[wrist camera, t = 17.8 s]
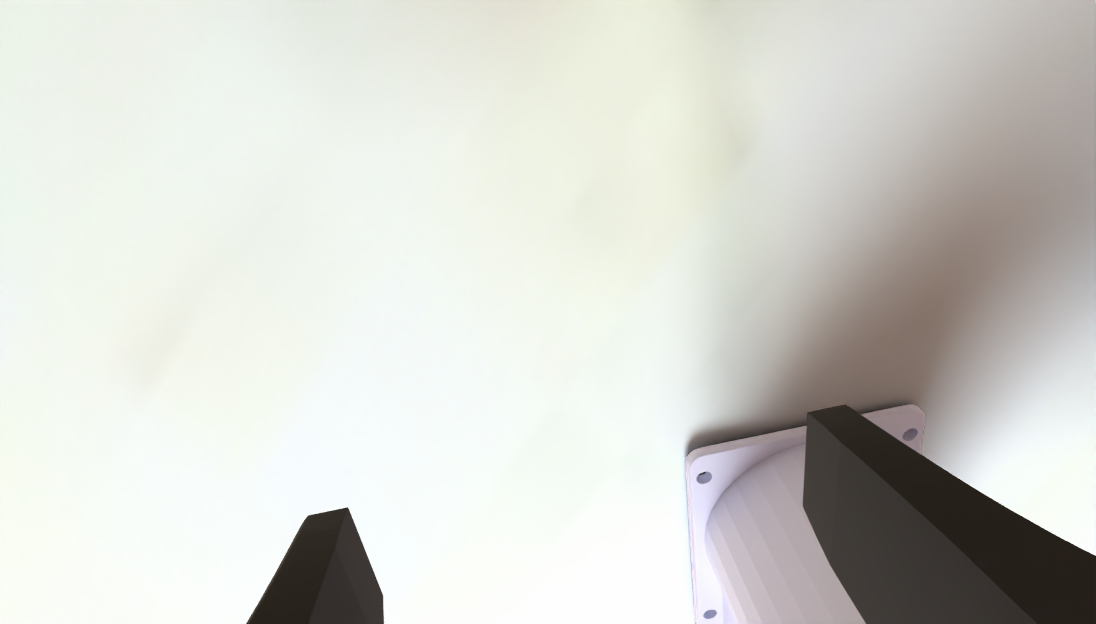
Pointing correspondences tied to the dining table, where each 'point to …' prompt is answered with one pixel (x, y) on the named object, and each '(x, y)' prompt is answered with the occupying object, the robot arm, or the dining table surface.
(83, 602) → the dining table surface
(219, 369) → the dining table surface
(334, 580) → the robot arm
